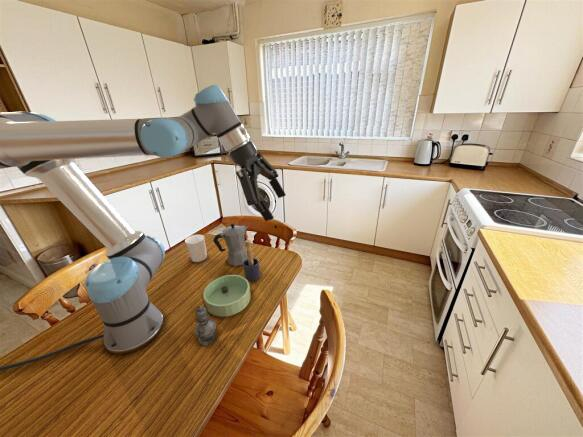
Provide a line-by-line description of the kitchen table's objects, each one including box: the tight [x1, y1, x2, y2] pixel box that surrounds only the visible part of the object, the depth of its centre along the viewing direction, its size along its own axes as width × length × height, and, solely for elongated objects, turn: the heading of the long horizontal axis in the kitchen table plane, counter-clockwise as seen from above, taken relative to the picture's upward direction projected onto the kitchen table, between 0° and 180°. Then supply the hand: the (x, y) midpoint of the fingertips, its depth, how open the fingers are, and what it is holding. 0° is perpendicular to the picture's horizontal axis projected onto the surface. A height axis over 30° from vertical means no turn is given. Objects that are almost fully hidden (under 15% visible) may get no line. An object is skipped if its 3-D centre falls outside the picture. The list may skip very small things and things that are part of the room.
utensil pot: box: [242, 257, 261, 282], centre depth 92 cm, size 6×6×7 cm
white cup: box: [184, 234, 208, 263], centre depth 105 cm, size 8×8×10 cm
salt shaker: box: [194, 306, 217, 346], centre depth 67 cm, size 6×6×12 cm
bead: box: [221, 286, 228, 293], centre depth 85 cm, size 2×2×2 cm
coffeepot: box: [213, 223, 249, 267], centre depth 100 cm, size 15×9×18 cm, turn 129°
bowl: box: [202, 274, 252, 318], centre depth 82 cm, size 15×15×5 cm
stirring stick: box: [244, 239, 254, 266], centre depth 90 cm, size 2×2×16 cm
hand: (276, 207), depth 75 cm, fingers open, 13 cm apart
